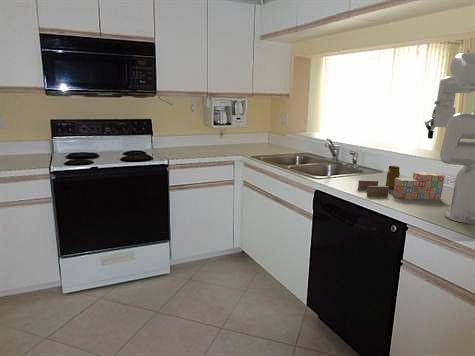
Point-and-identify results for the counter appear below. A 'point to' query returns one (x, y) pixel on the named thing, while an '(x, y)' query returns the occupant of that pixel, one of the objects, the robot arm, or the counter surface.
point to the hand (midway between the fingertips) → (439, 138)
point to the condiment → (392, 176)
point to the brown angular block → (373, 188)
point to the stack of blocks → (419, 186)
